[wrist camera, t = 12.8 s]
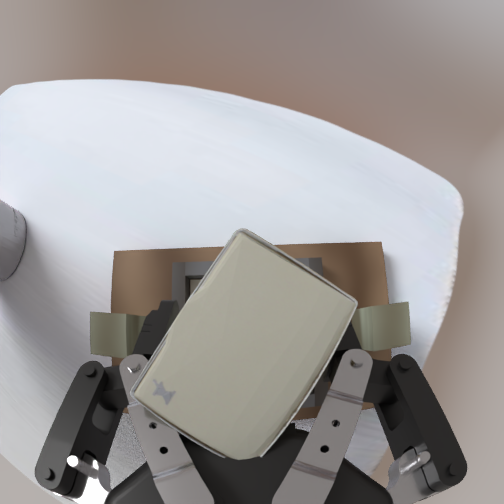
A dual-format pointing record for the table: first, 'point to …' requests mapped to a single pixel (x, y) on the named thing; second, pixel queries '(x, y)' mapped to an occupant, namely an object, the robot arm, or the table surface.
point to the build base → (198, 263)
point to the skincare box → (245, 349)
